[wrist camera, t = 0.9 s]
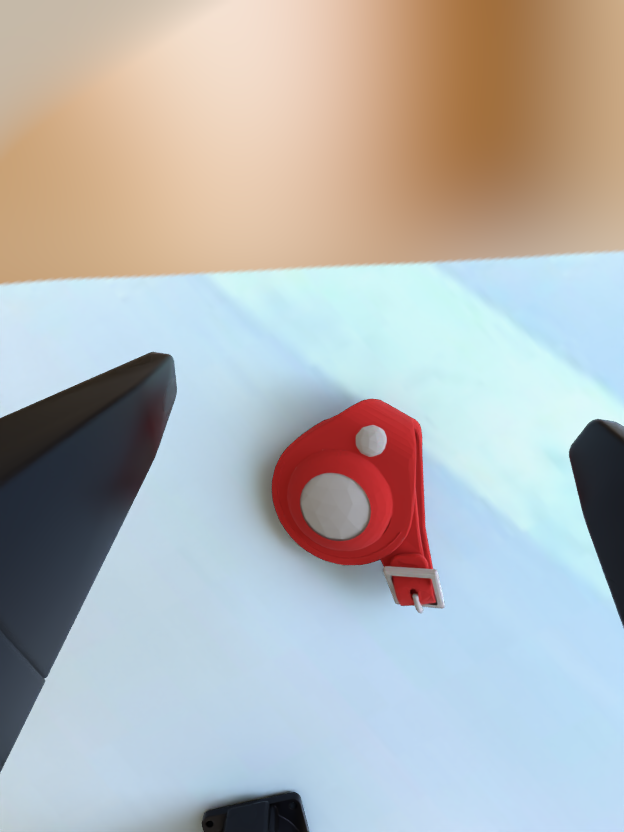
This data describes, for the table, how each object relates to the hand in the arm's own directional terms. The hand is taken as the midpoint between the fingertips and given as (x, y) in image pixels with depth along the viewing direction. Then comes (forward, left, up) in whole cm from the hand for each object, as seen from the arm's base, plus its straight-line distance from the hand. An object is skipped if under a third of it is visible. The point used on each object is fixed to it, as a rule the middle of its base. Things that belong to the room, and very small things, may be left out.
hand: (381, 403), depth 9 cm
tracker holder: (-8, 0, -15) cm, 17 cm away
